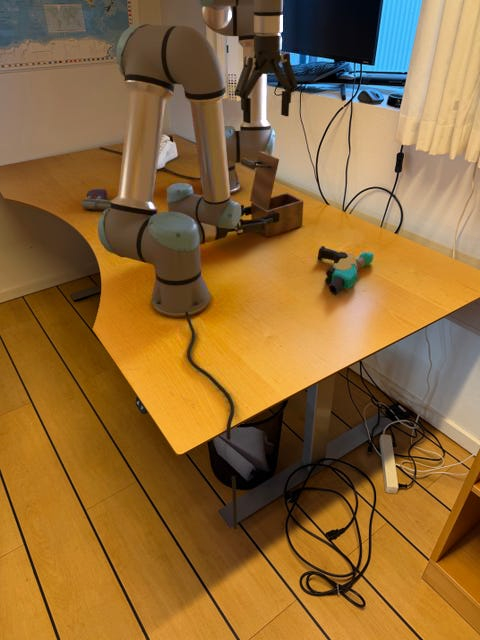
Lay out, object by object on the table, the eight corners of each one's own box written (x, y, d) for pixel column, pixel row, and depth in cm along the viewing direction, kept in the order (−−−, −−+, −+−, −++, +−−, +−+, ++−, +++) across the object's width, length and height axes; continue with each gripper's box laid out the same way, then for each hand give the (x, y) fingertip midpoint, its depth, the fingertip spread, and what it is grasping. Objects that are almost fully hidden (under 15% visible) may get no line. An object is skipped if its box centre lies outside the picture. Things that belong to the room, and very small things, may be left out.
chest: (286, 217, 168) (286, 192, 163) (302, 226, 162) (303, 200, 157) (251, 227, 162) (251, 202, 157) (266, 237, 156) (267, 211, 150)
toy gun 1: (139, 199, 183) (123, 215, 172) (94, 196, 187) (76, 211, 175) (137, 189, 181) (122, 205, 169) (92, 186, 184) (73, 201, 172)
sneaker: (133, 173, 208) (129, 144, 201) (161, 153, 230) (158, 127, 223) (155, 175, 205) (151, 146, 198) (180, 155, 227) (178, 129, 220)
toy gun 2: (295, 275, 127) (350, 289, 121) (327, 237, 145) (376, 248, 140) (294, 289, 129) (348, 303, 124) (326, 250, 148) (374, 261, 142)
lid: (262, 151, 149) (239, 149, 144) (279, 159, 143) (256, 157, 138) (252, 201, 157) (230, 200, 152) (268, 210, 150) (246, 210, 146)
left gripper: (195, 227, 157) (251, 211, 167) (230, 253, 142) (289, 234, 152) (193, 205, 153) (251, 191, 162) (229, 230, 138) (290, 212, 148)
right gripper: (295, 30, 134) (292, 110, 147) (220, 36, 123) (223, 122, 136) (313, 32, 129) (307, 115, 142) (236, 38, 118) (237, 128, 131)
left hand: (269, 211), depth 157 cm, fingers closed on chest, 9 cm apart
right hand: (266, 118), depth 139 cm, fingers open, 13 cm apart
